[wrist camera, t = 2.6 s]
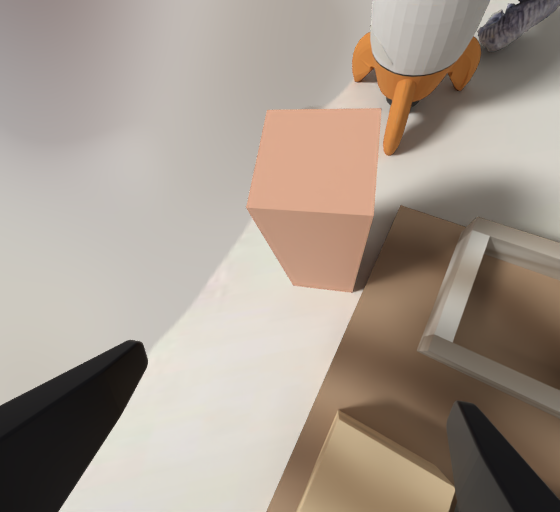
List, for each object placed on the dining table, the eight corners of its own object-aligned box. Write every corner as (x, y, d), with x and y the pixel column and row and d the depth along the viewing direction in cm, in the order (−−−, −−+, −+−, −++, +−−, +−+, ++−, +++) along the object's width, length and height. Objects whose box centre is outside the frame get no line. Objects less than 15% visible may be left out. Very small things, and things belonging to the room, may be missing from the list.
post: (352, 292, 22) (373, 215, 10) (293, 285, 23) (245, 207, 11) (357, 237, 23) (381, 108, 11) (301, 232, 24) (266, 110, 12)
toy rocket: (463, 76, 27) (648, -177, 12) (431, 181, 26) (587, 45, 12) (356, 52, 29) (408, -203, 14) (322, 151, 28) (339, -5, 13)
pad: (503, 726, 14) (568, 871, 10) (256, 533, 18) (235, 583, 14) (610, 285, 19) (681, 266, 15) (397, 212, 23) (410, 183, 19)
